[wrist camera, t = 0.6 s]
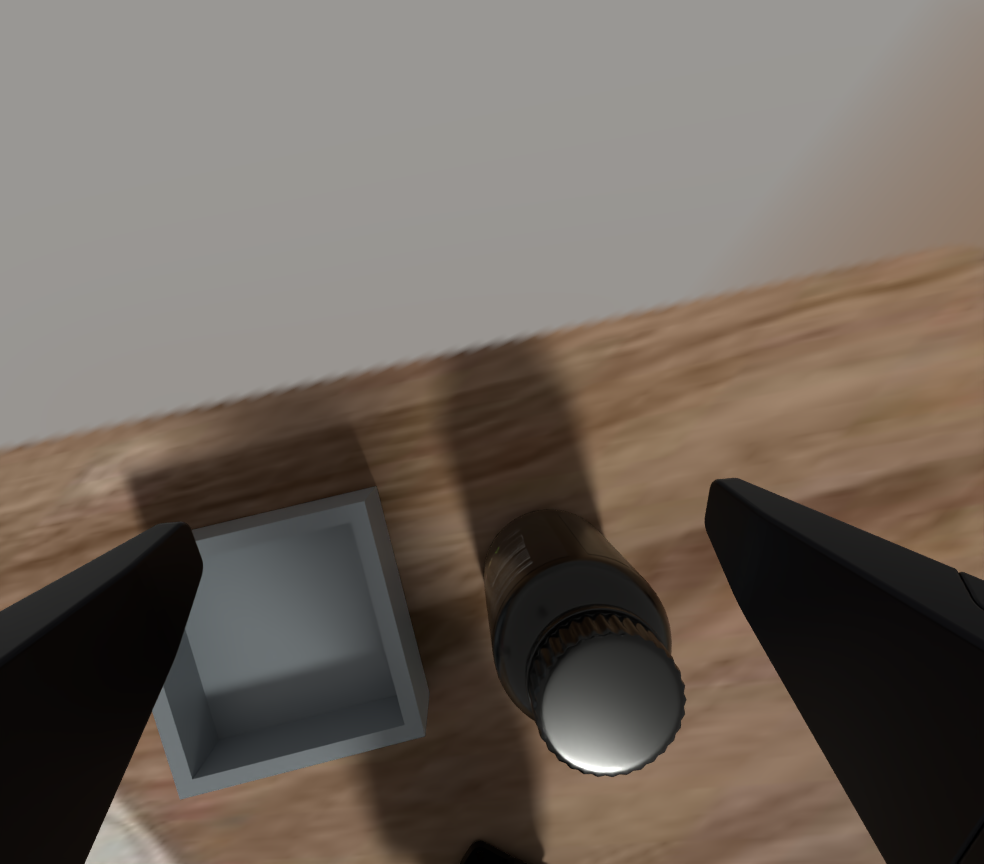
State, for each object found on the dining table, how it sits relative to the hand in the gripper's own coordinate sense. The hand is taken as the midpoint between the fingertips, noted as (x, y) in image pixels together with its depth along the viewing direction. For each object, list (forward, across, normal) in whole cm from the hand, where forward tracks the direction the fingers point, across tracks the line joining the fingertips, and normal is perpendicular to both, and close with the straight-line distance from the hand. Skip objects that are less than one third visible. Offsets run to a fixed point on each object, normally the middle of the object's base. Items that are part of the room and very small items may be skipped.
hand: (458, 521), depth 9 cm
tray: (+14, +9, +15) cm, 22 cm away
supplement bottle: (+14, -4, +14) cm, 20 cm away
